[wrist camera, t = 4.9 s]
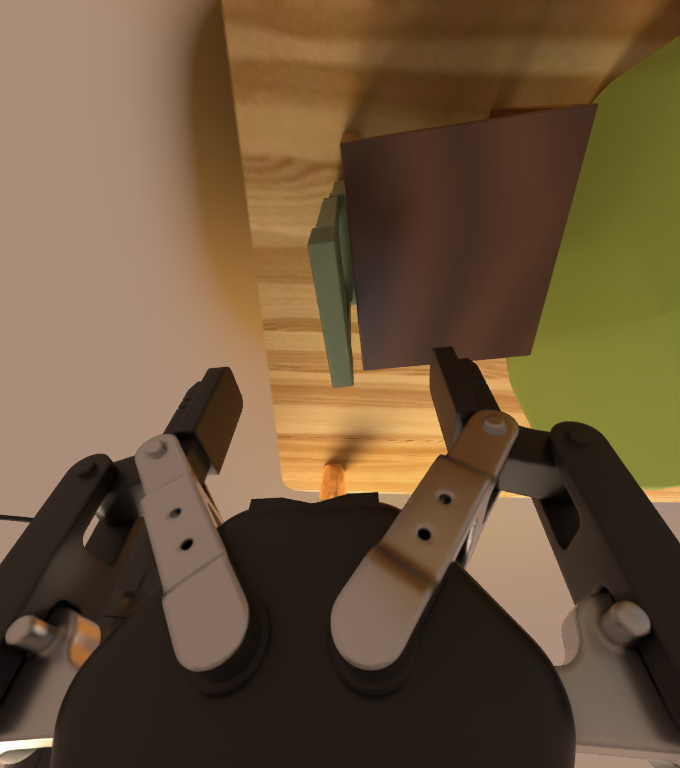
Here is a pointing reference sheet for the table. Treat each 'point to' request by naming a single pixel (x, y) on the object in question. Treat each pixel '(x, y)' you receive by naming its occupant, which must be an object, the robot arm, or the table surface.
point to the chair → (334, 283)
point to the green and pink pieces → (619, 283)
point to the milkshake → (332, 482)
